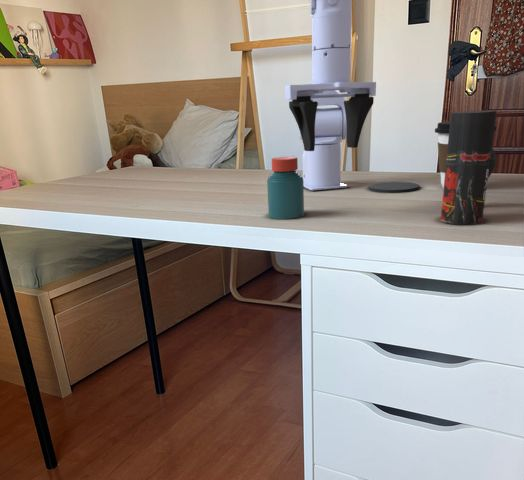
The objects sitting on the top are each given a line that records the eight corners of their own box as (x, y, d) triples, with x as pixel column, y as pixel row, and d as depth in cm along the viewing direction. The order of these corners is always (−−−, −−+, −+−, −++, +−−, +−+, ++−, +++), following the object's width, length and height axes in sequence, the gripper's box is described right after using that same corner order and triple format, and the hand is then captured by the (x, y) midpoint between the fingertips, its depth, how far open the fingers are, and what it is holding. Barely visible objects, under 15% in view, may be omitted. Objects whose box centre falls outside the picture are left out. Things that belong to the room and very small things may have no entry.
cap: (269, 169, 88) (268, 157, 87) (293, 167, 89) (293, 156, 88) (275, 172, 84) (275, 160, 83) (300, 170, 85) (300, 158, 84)
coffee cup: (445, 181, 111) (451, 120, 106) (497, 185, 104) (506, 119, 99) (419, 189, 104) (424, 124, 99) (473, 194, 97) (481, 124, 92)
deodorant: (485, 224, 76) (500, 111, 70) (442, 224, 78) (453, 113, 71) (478, 215, 82) (492, 109, 75) (438, 216, 83) (448, 111, 76)
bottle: (265, 213, 92) (262, 160, 88) (298, 210, 93) (297, 157, 89) (273, 220, 86) (271, 164, 82) (308, 217, 87) (307, 161, 84)
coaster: (361, 186, 111) (361, 184, 111) (404, 182, 113) (405, 180, 113) (381, 194, 102) (381, 191, 102) (428, 189, 104) (428, 187, 104)
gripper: (298, 47, 72) (300, 153, 77) (389, 46, 76) (384, 146, 82) (277, 53, 78) (281, 151, 83) (363, 52, 82) (360, 145, 88)
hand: (331, 149), depth 83 cm, fingers open, 7 cm apart
